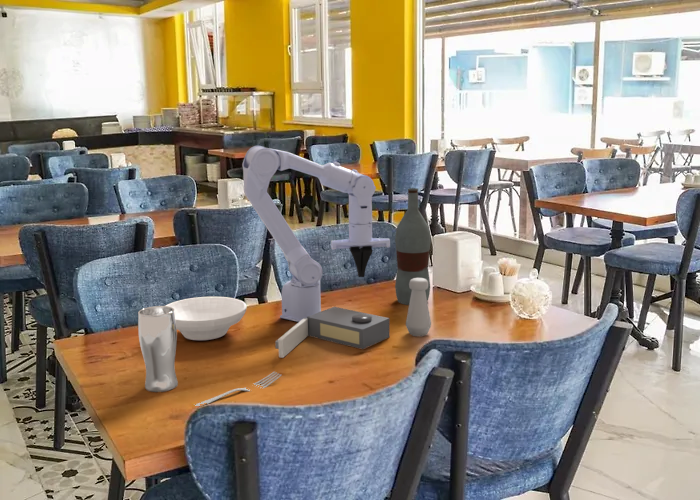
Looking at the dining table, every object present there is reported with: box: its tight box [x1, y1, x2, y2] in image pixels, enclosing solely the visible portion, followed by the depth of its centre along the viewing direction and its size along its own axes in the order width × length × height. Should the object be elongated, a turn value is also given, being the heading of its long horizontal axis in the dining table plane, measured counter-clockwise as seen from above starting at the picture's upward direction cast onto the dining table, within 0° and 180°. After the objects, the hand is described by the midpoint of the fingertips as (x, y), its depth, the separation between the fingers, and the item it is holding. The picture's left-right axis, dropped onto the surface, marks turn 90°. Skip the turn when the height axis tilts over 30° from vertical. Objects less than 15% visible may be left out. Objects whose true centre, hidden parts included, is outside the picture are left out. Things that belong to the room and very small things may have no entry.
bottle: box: [394, 187, 431, 306], centre depth 194 cm, size 9×9×30 cm
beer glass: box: [137, 305, 179, 393], centre depth 140 cm, size 7×7×15 cm
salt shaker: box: [405, 278, 432, 337], centre depth 169 cm, size 6×6×13 cm
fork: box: [194, 371, 282, 406], centre depth 136 cm, size 3×24×2 cm, turn 132°
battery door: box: [274, 318, 309, 359], centre depth 162 cm, size 16×2×4 cm, turn 163°
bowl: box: [165, 296, 247, 341], centre depth 170 cm, size 20×20×7 cm
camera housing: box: [307, 306, 390, 350], centre depth 168 cm, size 16×10×5 cm, turn 52°
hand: (361, 276), depth 186 cm, fingers closed
